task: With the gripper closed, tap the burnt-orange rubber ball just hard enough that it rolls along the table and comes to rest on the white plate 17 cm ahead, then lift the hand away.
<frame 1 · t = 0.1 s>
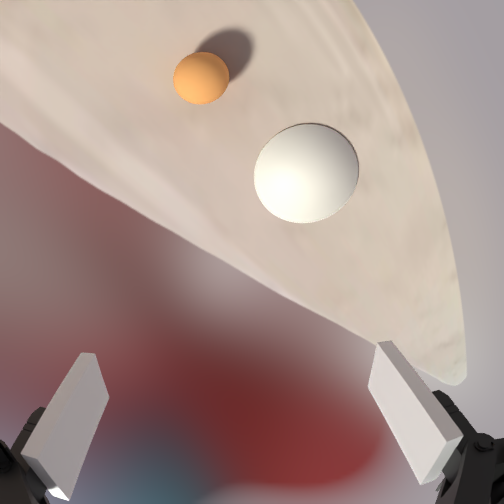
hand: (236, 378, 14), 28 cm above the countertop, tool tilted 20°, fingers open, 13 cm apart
white plate: (307, 175, 38), on the countertop
ball: (201, 77, 28), on the countertop
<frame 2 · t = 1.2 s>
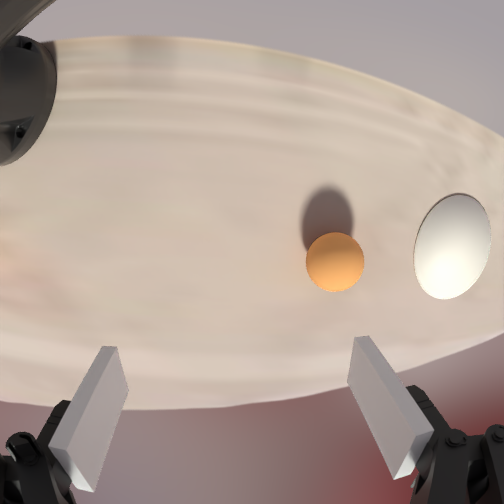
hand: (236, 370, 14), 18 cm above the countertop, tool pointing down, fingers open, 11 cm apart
white plate: (455, 248, 33), on the countertop
ball: (335, 261, 29), on the countertop
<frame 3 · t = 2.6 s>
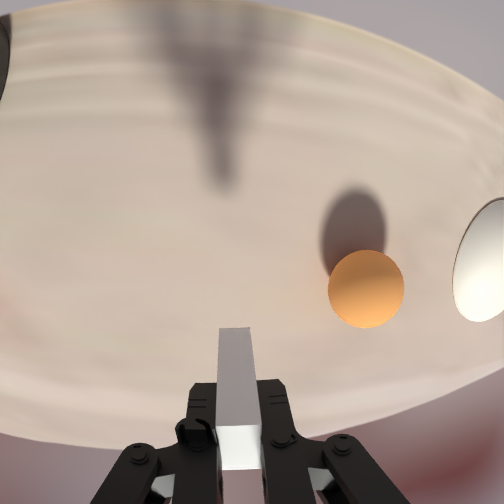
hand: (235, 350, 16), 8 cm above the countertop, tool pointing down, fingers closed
white plate: (497, 263, 25), on the countertop
ball: (366, 288, 22), on the countertop
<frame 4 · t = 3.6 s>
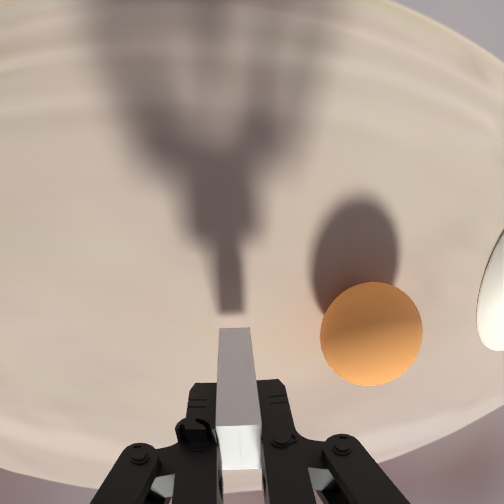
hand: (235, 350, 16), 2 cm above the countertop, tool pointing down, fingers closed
ball: (371, 334, 16), on the countertop
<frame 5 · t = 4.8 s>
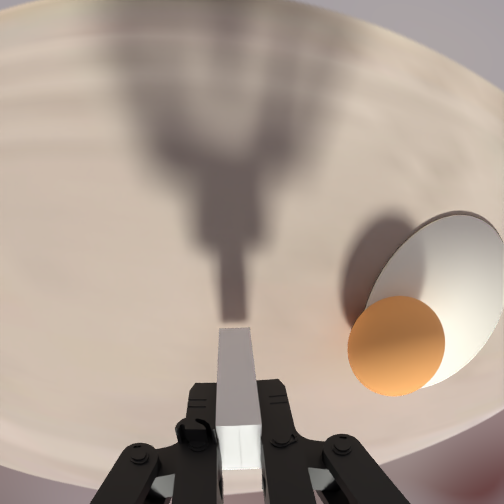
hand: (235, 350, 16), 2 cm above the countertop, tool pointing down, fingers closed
white plate: (446, 310, 18), on the countertop
ball: (396, 346, 16), on the countertop
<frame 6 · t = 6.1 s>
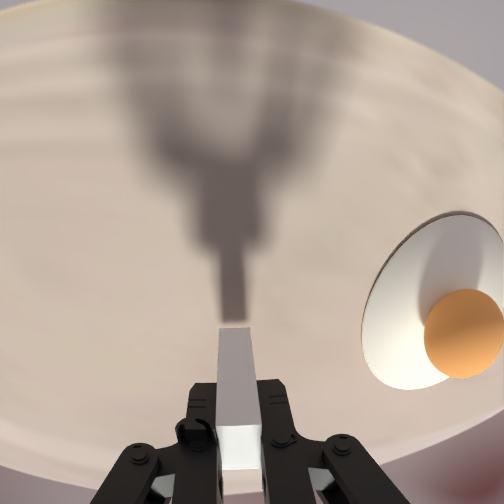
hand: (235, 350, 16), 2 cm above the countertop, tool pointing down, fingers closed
white plate: (446, 310, 18), on the countertop
ball: (464, 333, 16), resting on white plate
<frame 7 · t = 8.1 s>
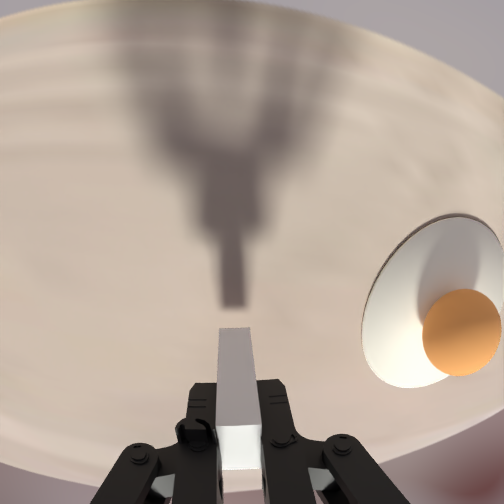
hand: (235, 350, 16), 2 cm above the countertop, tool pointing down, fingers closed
white plate: (444, 310, 19), on the countertop
ball: (462, 332, 16), resting on white plate
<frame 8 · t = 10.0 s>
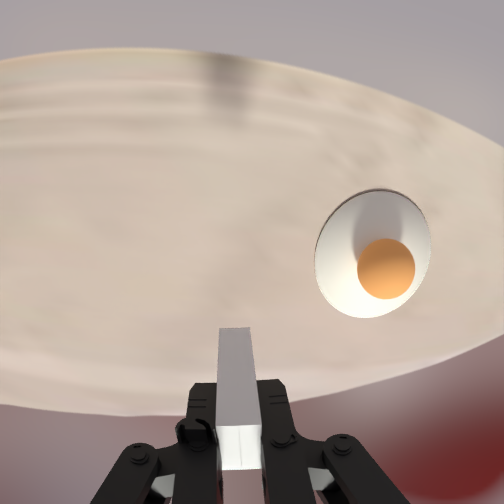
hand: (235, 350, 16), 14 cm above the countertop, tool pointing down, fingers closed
white plate: (377, 257, 30), on the countertop
ball: (386, 269, 27), resting on white plate
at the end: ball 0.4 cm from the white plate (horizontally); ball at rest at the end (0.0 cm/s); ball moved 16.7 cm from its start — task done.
